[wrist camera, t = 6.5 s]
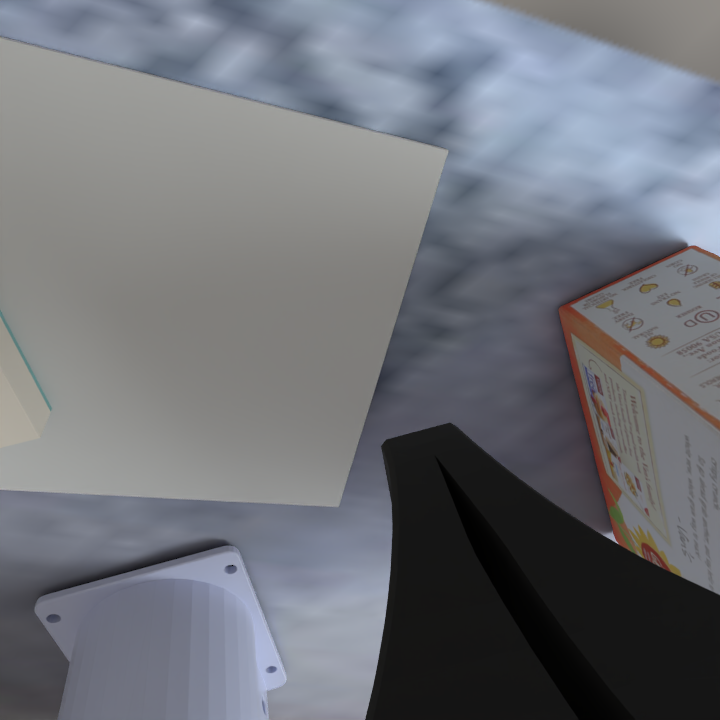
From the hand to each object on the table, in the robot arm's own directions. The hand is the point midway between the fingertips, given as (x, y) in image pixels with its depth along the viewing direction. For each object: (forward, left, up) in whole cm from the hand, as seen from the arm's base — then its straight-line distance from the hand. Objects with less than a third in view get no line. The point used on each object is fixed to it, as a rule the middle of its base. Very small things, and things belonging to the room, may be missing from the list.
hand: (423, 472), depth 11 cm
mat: (+1, +8, -10) cm, 13 cm away
